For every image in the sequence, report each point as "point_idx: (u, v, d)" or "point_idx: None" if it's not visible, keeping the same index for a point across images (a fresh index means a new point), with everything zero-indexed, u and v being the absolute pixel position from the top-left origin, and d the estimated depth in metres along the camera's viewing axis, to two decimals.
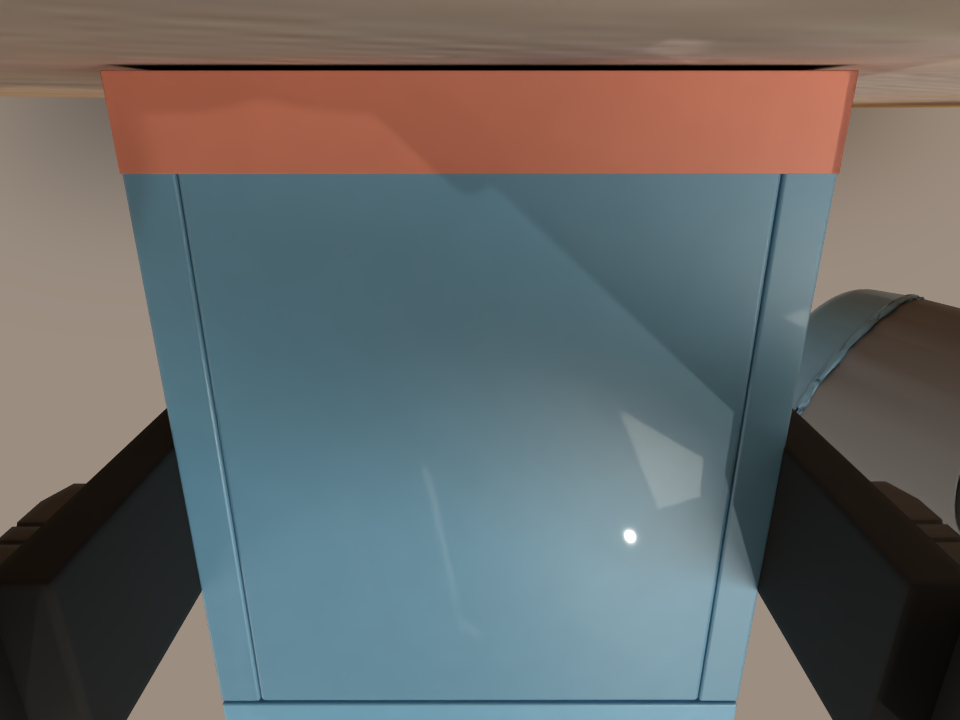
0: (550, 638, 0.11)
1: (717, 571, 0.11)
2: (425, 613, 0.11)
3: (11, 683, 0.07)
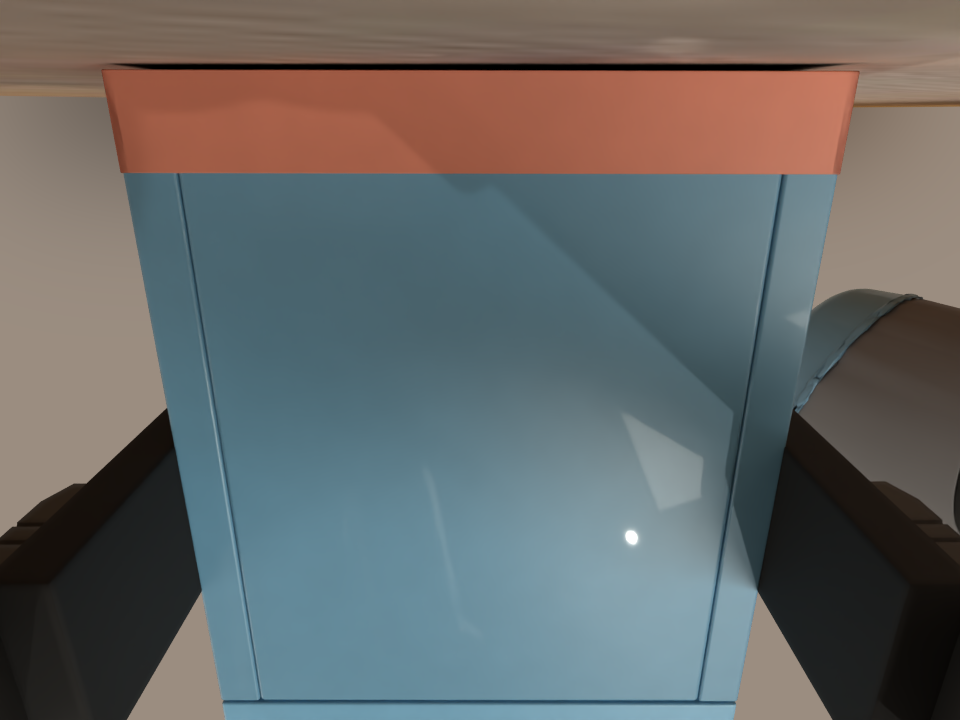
0: (550, 638, 0.11)
1: (717, 571, 0.11)
2: (425, 613, 0.11)
3: (12, 683, 0.07)
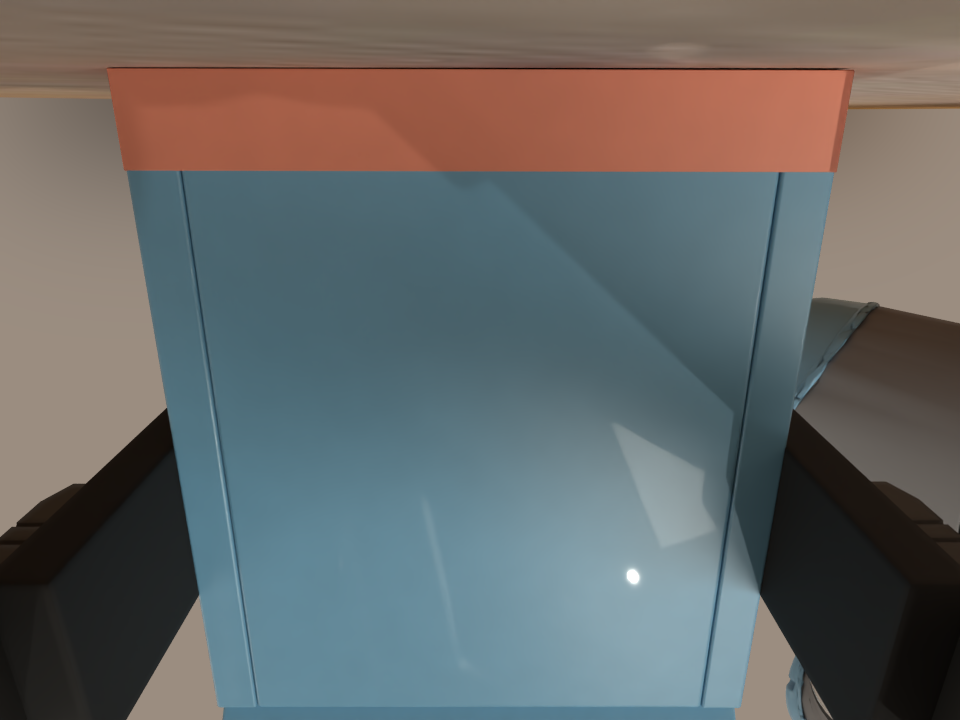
0: (551, 643, 0.11)
1: (719, 574, 0.11)
2: (424, 617, 0.11)
3: (11, 683, 0.07)
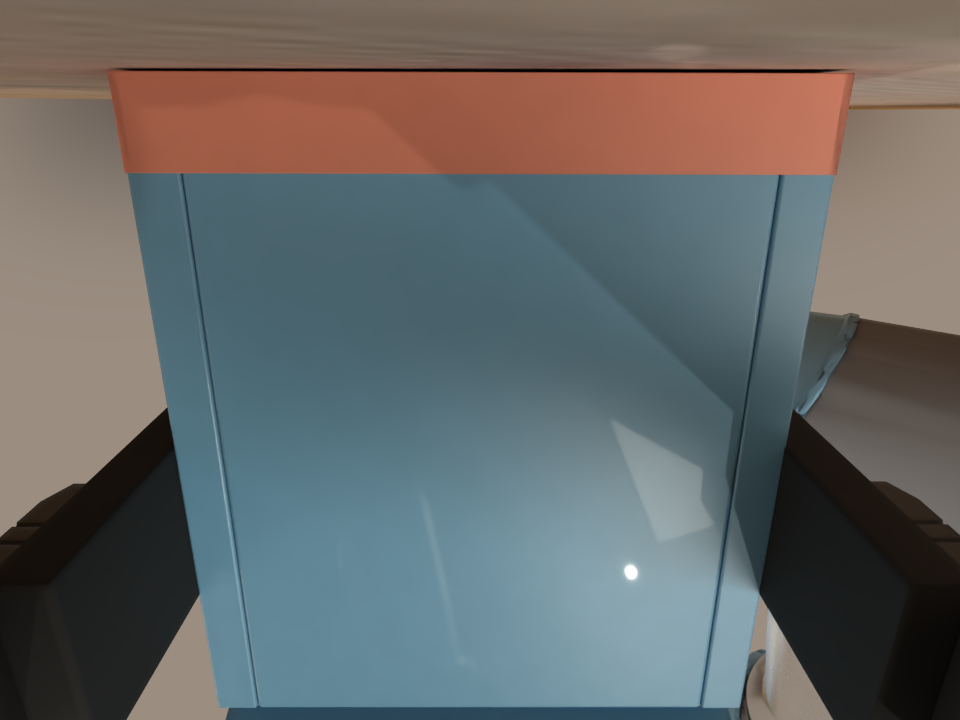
0: (551, 643, 0.11)
1: (718, 575, 0.11)
2: (425, 617, 0.11)
3: (11, 683, 0.07)
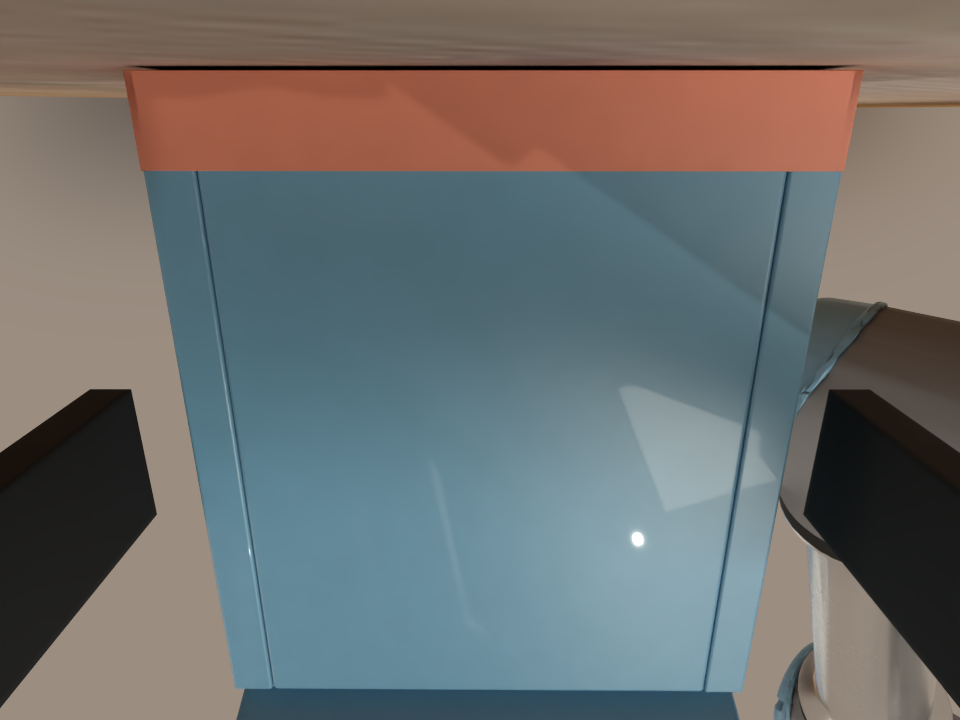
0: (558, 629, 0.11)
1: (723, 563, 0.11)
2: (435, 603, 0.11)
3: None
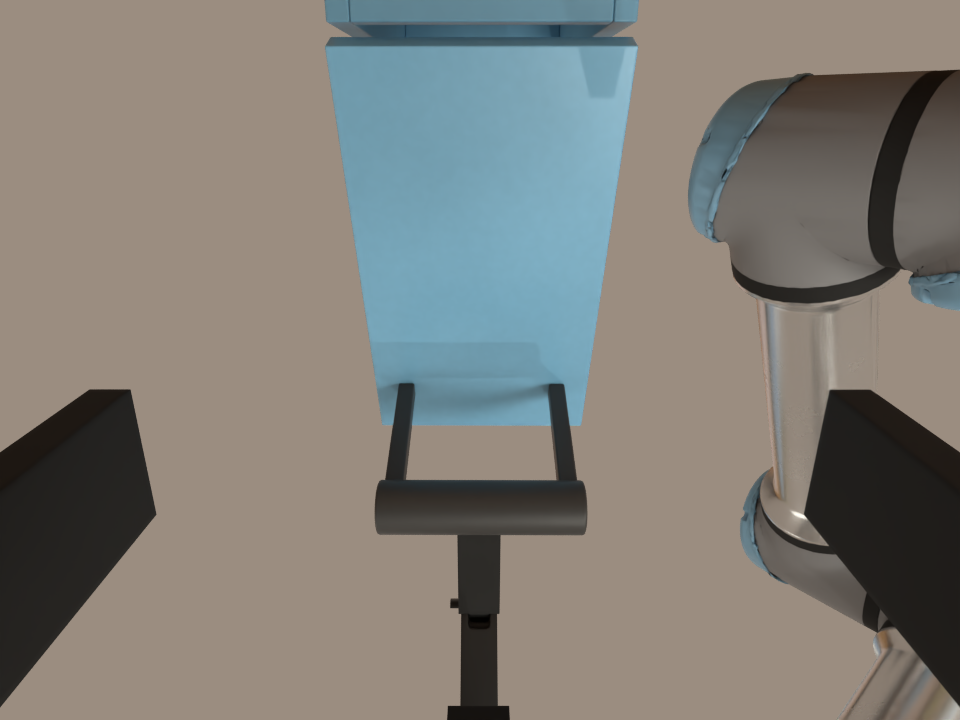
0: None
1: None
2: None
3: None
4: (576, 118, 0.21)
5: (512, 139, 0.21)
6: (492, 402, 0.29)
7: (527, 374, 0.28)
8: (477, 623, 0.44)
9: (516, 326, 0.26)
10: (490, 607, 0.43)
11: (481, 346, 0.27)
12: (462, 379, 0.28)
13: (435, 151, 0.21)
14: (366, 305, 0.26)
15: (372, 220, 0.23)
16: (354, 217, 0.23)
